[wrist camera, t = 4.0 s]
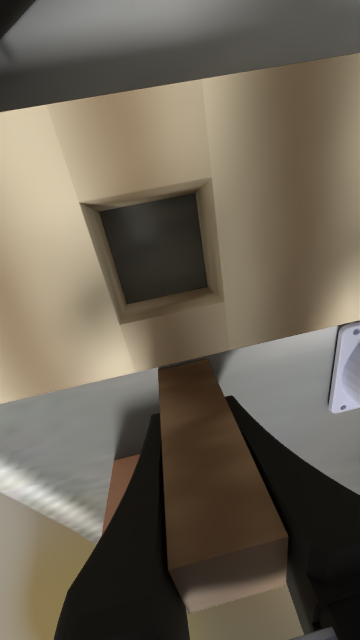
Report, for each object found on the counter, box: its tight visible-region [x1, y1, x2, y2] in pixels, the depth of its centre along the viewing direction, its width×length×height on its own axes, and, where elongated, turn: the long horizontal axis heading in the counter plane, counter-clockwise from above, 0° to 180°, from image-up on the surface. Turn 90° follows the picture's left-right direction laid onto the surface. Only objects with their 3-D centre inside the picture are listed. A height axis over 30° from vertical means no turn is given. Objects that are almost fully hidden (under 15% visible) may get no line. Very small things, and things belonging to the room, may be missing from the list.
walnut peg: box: [158, 359, 288, 613], centre depth 10 cm, size 3×3×9 cm
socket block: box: [0, 53, 360, 404], centre depth 10 cm, size 20×10×3 cm, turn 100°
